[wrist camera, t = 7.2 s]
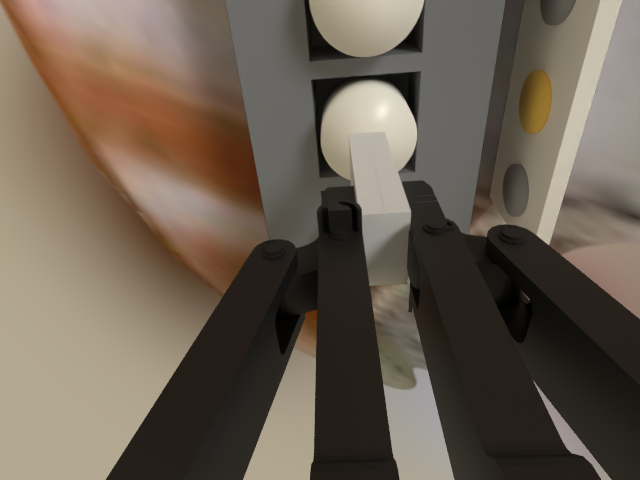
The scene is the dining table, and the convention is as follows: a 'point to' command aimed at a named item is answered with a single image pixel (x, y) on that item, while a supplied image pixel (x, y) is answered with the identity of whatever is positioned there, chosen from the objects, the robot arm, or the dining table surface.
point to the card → (548, 106)
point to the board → (335, 67)
